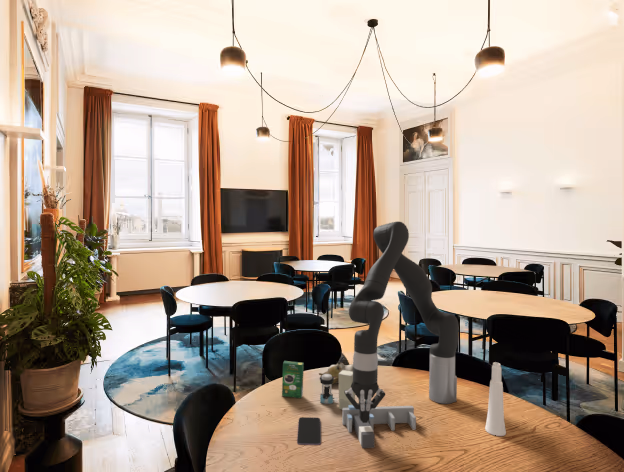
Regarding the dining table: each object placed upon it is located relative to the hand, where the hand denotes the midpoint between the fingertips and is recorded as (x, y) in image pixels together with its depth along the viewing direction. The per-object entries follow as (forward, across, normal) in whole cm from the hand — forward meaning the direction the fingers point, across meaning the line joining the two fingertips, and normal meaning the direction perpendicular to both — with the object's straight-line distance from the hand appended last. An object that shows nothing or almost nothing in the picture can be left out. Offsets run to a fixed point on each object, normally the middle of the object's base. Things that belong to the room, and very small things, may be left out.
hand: (364, 421), depth 115 cm
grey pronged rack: (+5, -7, -7) cm, 11 cm away
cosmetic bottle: (+5, -44, -1) cm, 44 cm away
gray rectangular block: (+6, 0, -1) cm, 6 cm away
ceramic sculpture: (+6, +1, -44) cm, 45 cm away
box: (+6, +1, -20) cm, 21 cm away
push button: (+6, +7, -25) cm, 27 cm away
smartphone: (+6, +16, -6) cm, 18 cm away
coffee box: (+6, +20, -31) cm, 38 cm away
